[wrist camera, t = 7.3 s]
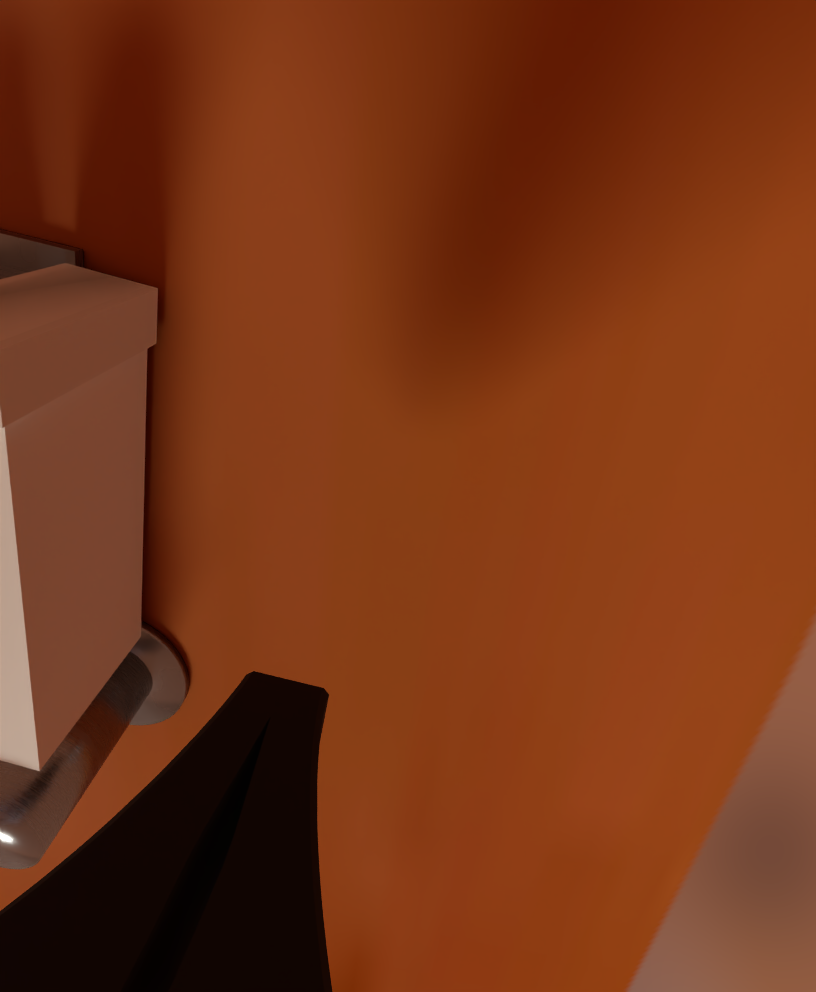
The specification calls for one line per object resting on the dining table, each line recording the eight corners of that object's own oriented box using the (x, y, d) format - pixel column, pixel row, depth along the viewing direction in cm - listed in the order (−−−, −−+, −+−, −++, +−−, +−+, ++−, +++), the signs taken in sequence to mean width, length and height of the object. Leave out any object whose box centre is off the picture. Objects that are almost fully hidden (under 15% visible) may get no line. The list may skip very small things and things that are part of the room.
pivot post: (55, 697, 20) (-84, 865, 15) (44, 592, 18) (-122, 751, 13) (187, 731, 20) (88, 911, 15) (191, 630, 18) (78, 803, 13)
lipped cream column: (147, 638, 18) (39, 785, 14) (80, 619, 18) (-48, 761, 14) (158, 288, 13) (-5, 352, 9) (65, 263, 13) (-142, 315, 9)
